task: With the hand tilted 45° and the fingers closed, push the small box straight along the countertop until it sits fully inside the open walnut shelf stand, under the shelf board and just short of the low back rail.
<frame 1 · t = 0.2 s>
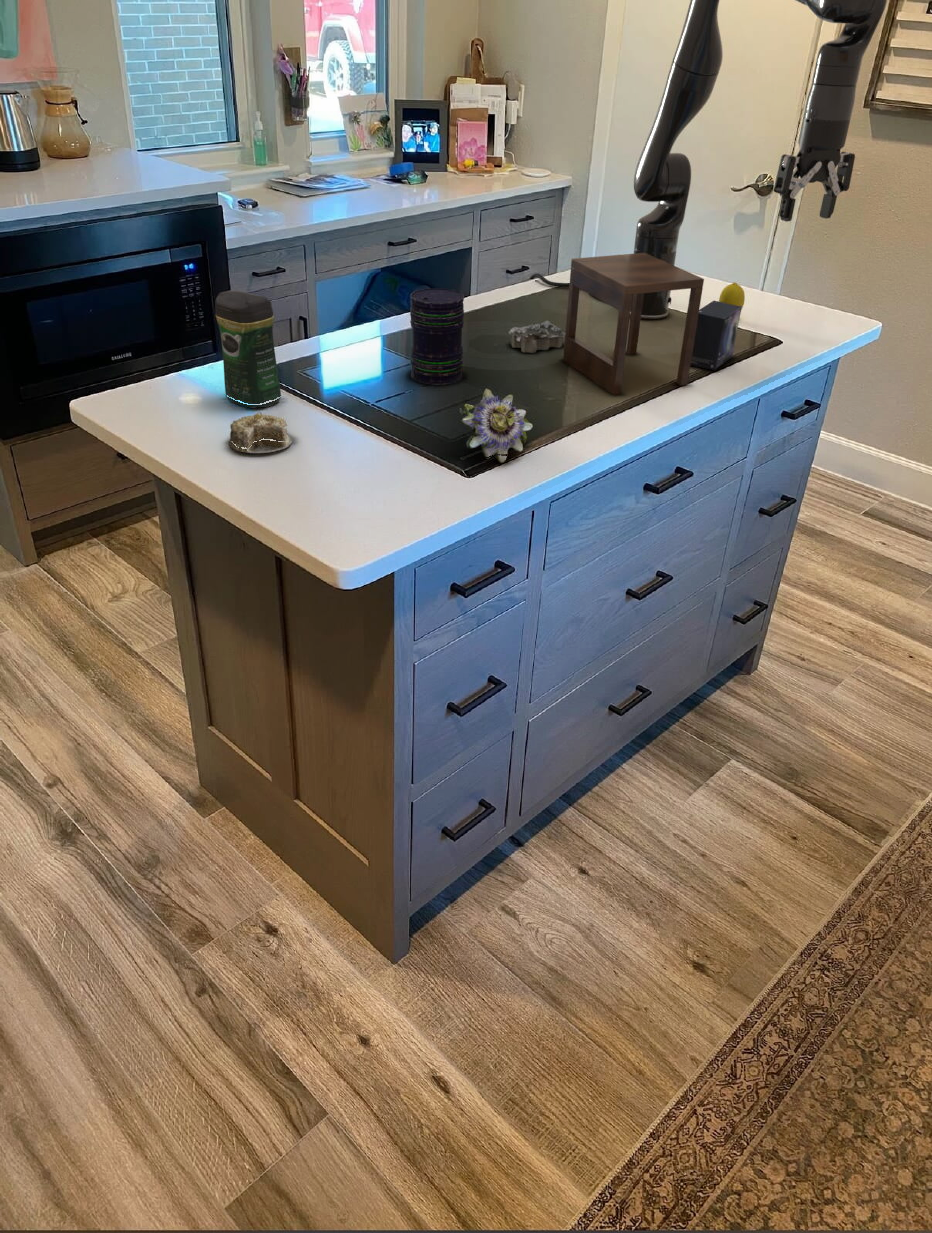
hand: (805, 219, 166), 29 cm above the countertop, tool pointing down, fingers open, 8 cm apart
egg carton: (536, 346, 195), on the countertop
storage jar: (436, 376, 179), on the countertop
coffee jar: (254, 401, 167), on the countertop
shelf: (623, 372, 183), on the countertop
cake: (260, 445, 151), on the countertop
small box: (709, 362, 190), on the countertop
lemon: (728, 319, 214), on the countertop
passion flower: (492, 452, 151), on the countertop
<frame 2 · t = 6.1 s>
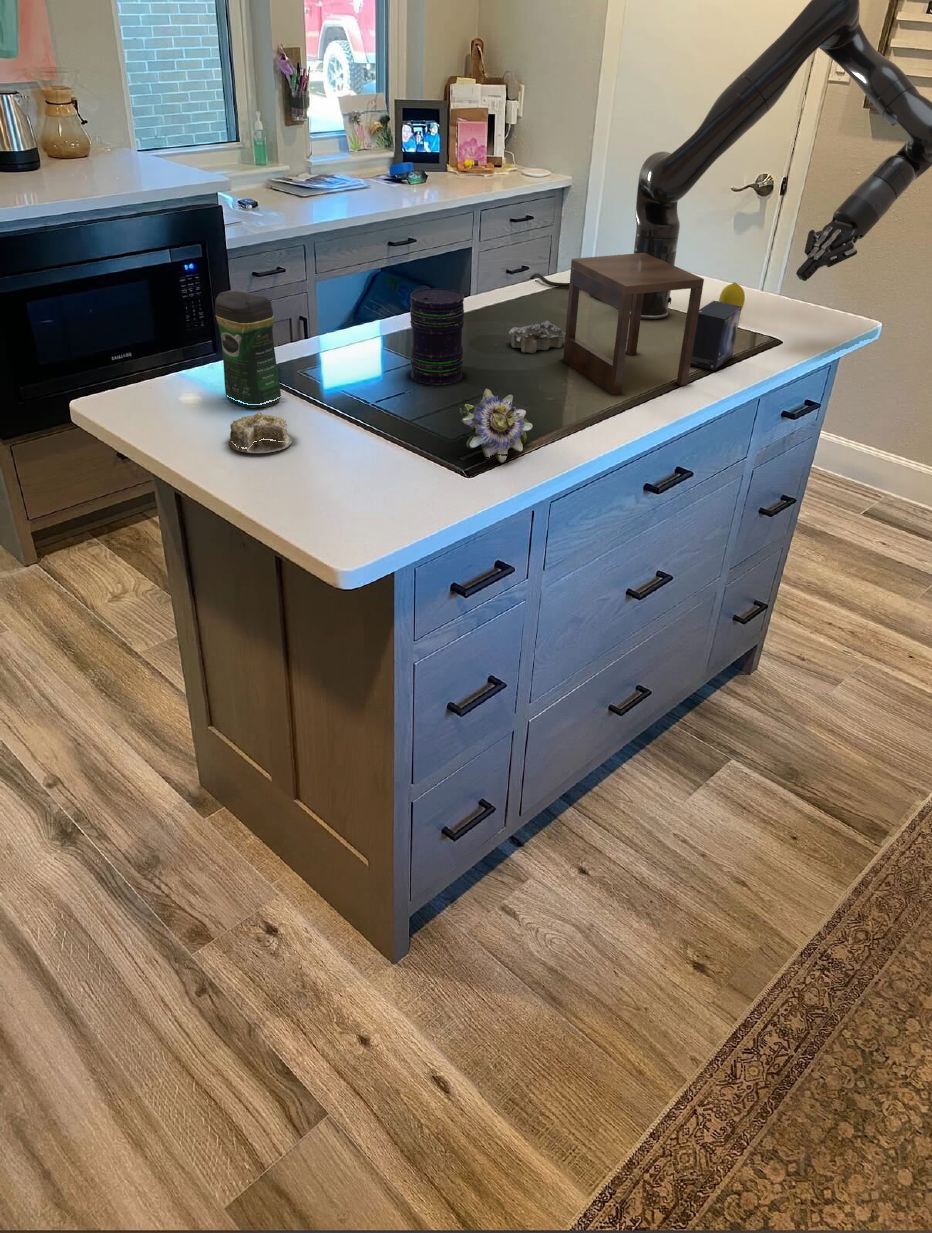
hand: (800, 277, 187), 15 cm above the countertop, tool tilted 45°, fingers closed
nothing on the countertop moved.
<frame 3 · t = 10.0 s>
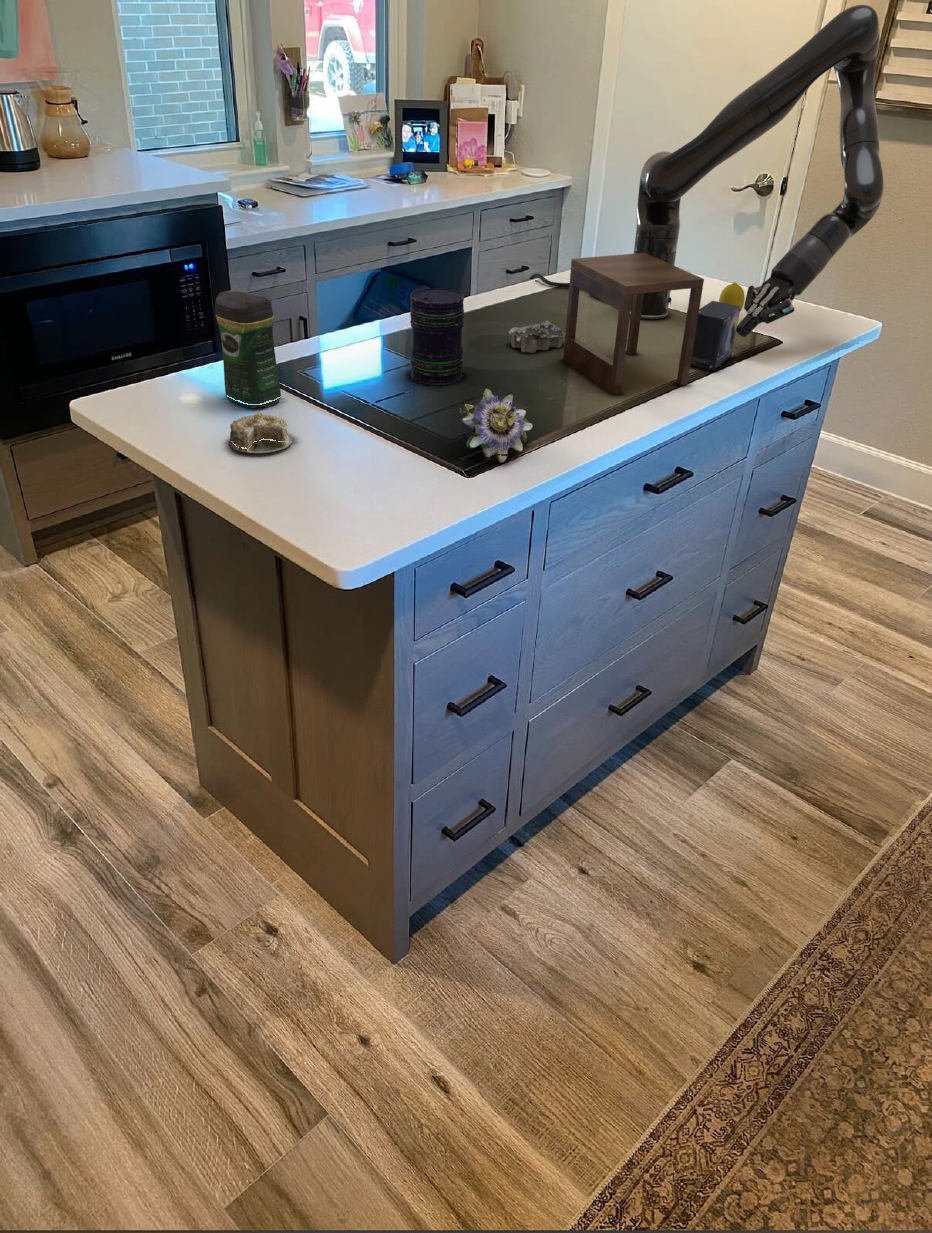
hand: (739, 333, 189), 5 cm above the countertop, tool tilted 45°, fingers closed
small box: (708, 362, 190), on the countertop, touching gripper
everything else where it was.
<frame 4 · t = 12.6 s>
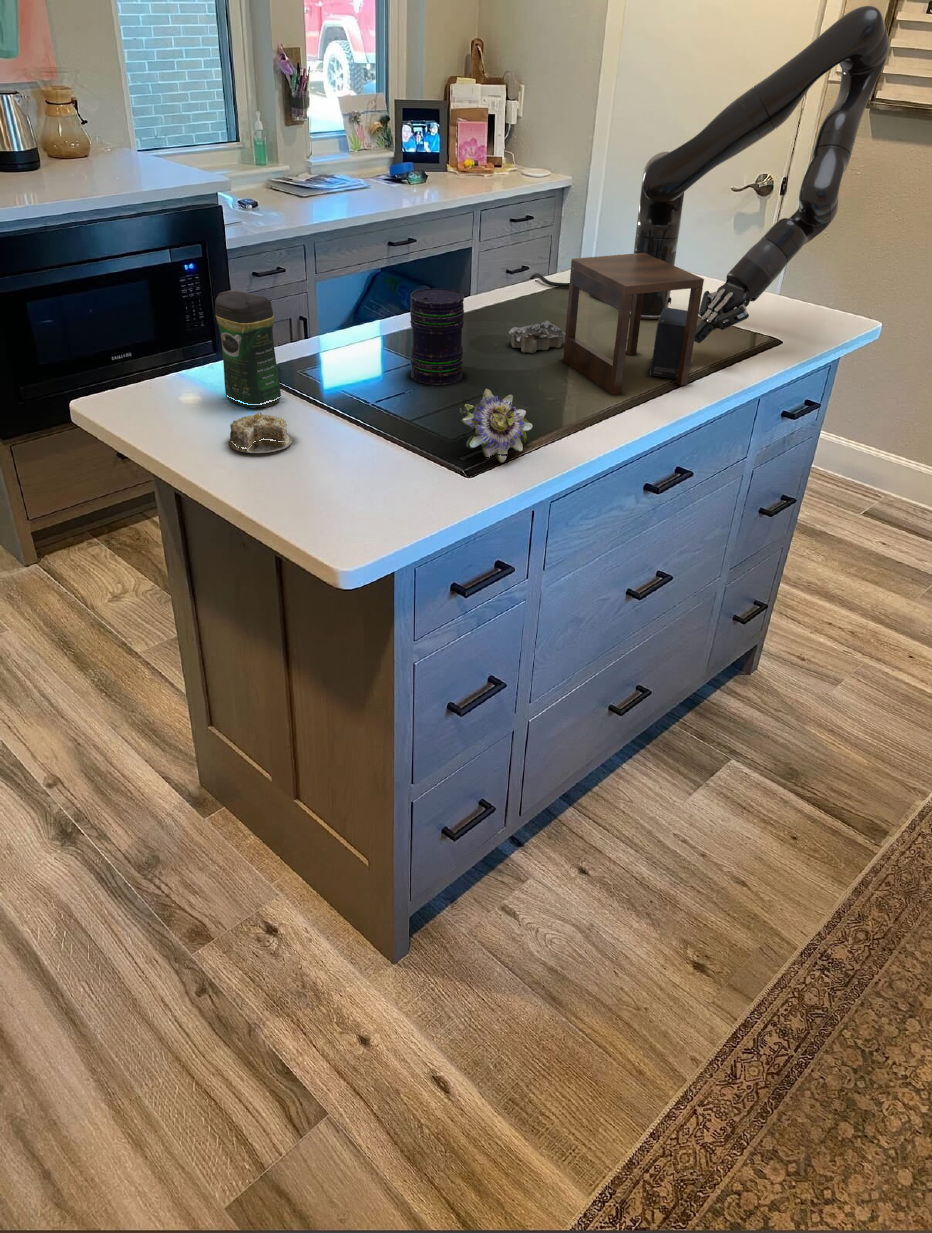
hand: (694, 339, 185), 5 cm above the countertop, tool tilted 45°, fingers closed
small box: (668, 370, 185), on the countertop, touching gripper
everything else where it was.
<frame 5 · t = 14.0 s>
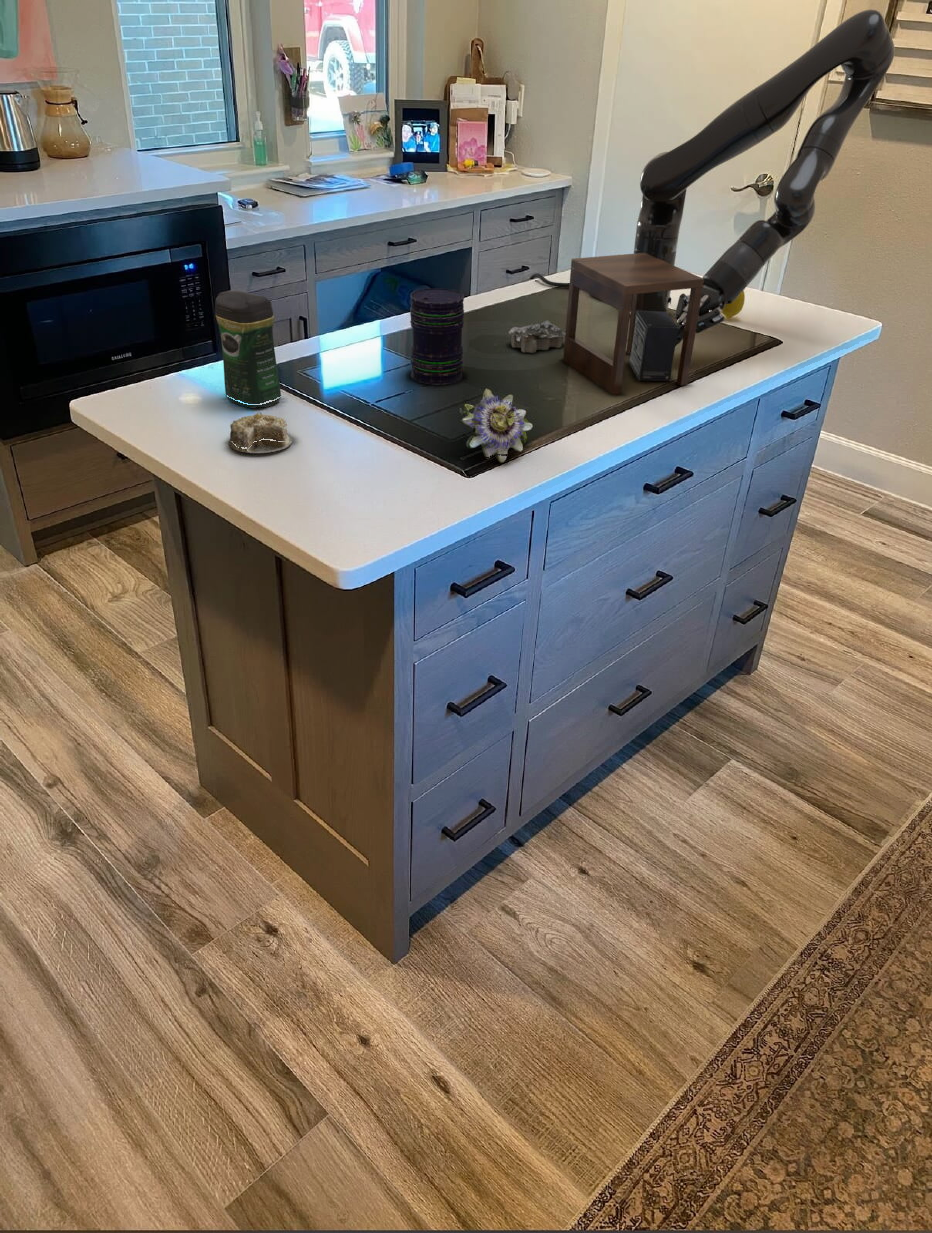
hand: (669, 342, 183), 5 cm above the countertop, tool tilted 45°, fingers closed
small box: (649, 373, 184), on the countertop, touching gripper
everything else where it was.
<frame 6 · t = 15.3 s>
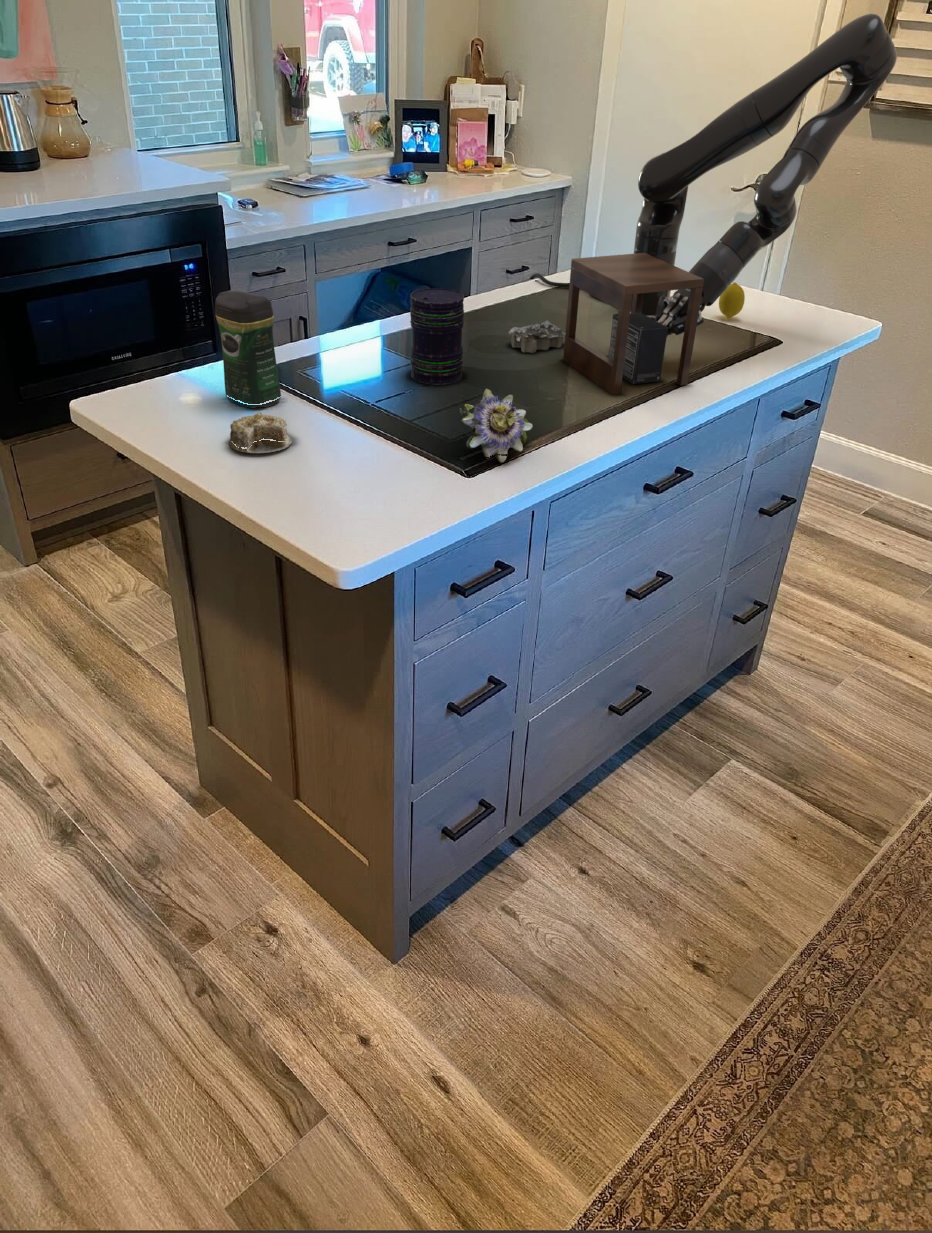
hand: (649, 344, 182), 5 cm above the countertop, tool tilted 45°, fingers closed
small box: (633, 375, 182), on the countertop, touching gripper
everything else where it was.
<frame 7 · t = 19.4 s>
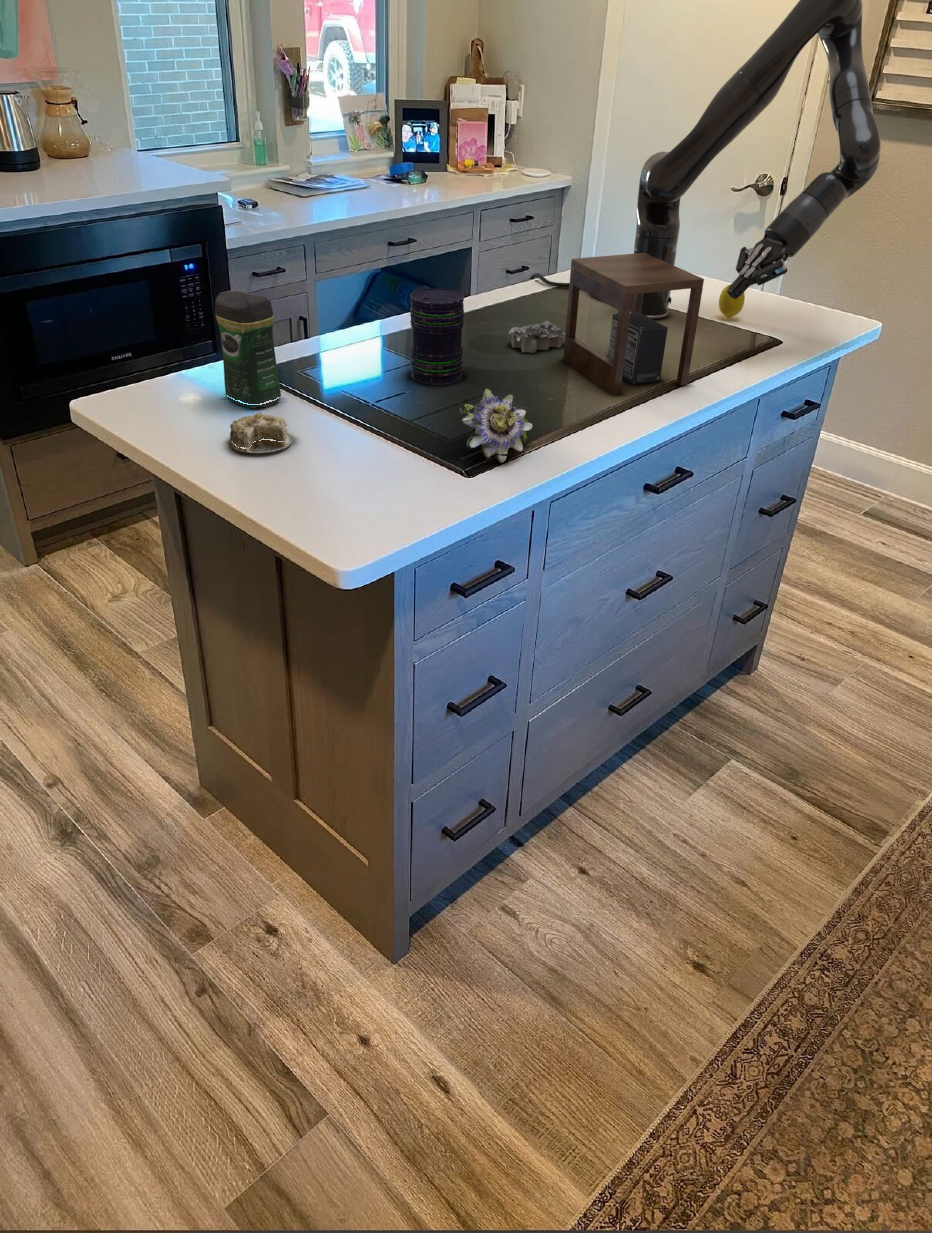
hand: (730, 295, 183), 13 cm above the countertop, tool tilted 45°, fingers closed
small box: (633, 375, 182), on the countertop
everything else where it was.
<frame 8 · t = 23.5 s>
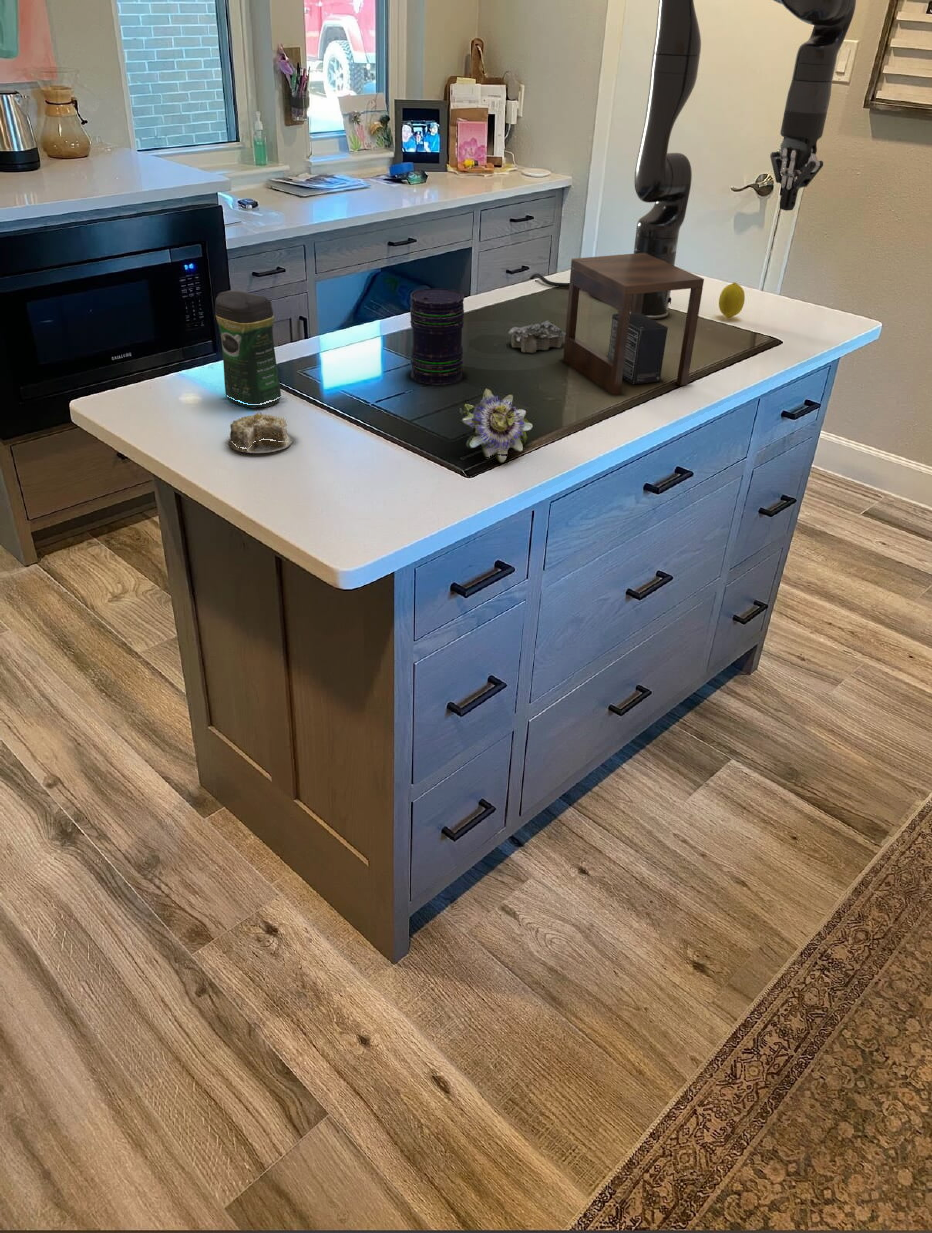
hand: (786, 209, 183), 27 cm above the countertop, tool pointing down, fingers closed
nothing on the countertop moved.
at the end: small box inside the target area on the shelf (3.6 cm from its centre), point 0.0 cm above the shelf's base; small box tilted 0° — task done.
